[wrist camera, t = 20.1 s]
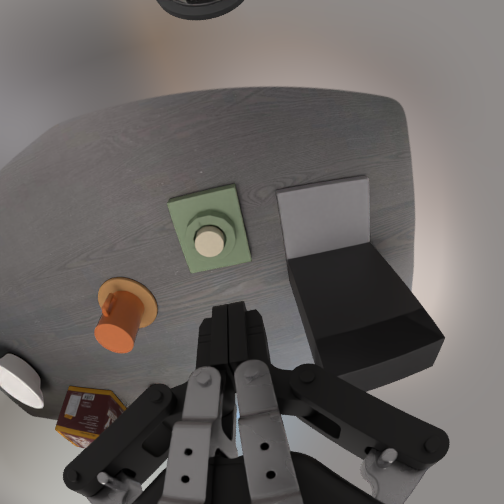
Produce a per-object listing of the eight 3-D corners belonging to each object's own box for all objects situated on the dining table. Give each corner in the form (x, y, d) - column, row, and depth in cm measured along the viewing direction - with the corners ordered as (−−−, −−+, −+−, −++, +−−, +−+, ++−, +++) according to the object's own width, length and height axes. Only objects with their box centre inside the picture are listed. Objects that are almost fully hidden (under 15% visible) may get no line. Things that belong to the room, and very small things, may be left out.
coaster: (88, 282, 41) (87, 284, 40) (142, 271, 41) (141, 273, 40) (116, 328, 46) (115, 331, 46) (167, 322, 46) (166, 324, 45)
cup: (99, 286, 41) (82, 318, 34) (131, 280, 40) (116, 313, 34) (119, 321, 45) (107, 354, 38) (150, 317, 44) (140, 352, 38)
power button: (192, 228, 34) (191, 234, 33) (220, 222, 34) (219, 228, 33) (200, 252, 36) (199, 259, 35) (226, 247, 36) (226, 254, 35)
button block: (169, 199, 35) (163, 208, 32) (234, 183, 35) (235, 191, 32) (191, 267, 41) (189, 280, 38) (251, 255, 41) (252, 268, 38)
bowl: (-12, 341, 49) (-23, 359, 42) (22, 343, 49) (10, 366, 42) (24, 385, 59) (17, 403, 52) (63, 391, 59) (56, 413, 52)
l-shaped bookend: (275, 190, 36) (326, 294, 17) (364, 175, 36) (472, 252, 16) (289, 281, 43) (326, 403, 24) (365, 263, 43) (432, 366, 24)
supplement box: (128, 409, 62) (119, 456, 49) (86, 404, 62) (75, 446, 49) (112, 390, 57) (99, 441, 44) (68, 385, 57) (53, 430, 43)
